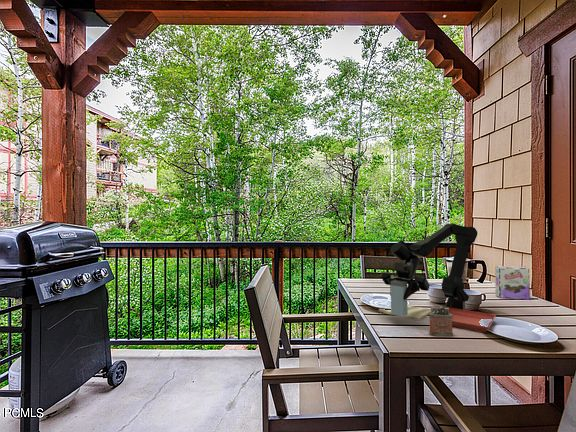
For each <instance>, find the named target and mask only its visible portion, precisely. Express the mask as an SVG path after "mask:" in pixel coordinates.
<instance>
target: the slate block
mask: <svg viewBox="0 0 576 432" xmlns="http://www.w3.org/2000/svg"><path fill="white" fill-rule="evenodd" d="M407 287H408V284H407V282H406V281H399V280H394V281H391V296H390V305H391V314H395V315H399V316H398V317H400V316H405V315H407V314H408V305H409V304H408V298H407V299H406V300H404V299H403V297H404V294H405V292H406V289H407ZM391 314H390V315H391ZM395 315H394V316H395Z"/></svg>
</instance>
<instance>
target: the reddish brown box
mask: <svg viewBox="0 0 576 432" xmlns="http://www.w3.org/2000/svg"><path fill="white" fill-rule="evenodd" d="M430 310H431V311H433V312H432V313H429V315H428V317H429V330H428V332H429V333H428V334H429V335H430V336H433V337H453V336H454V332H453V326H452V317H453V314H450V313H449V308H447V307H443V306H441V305H440V306H439V307H438V306H431V307H430ZM445 311H446V313H445Z"/></svg>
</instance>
